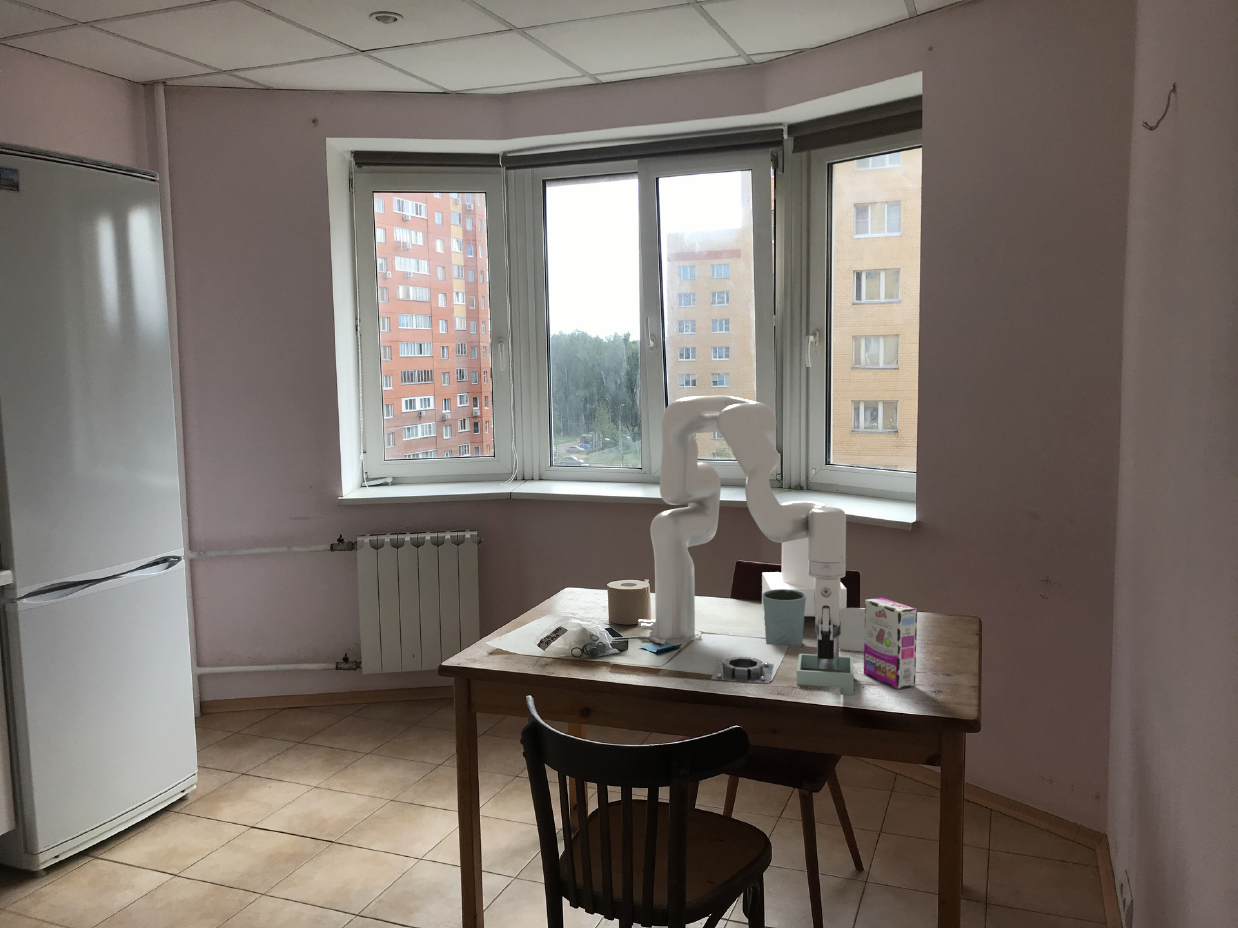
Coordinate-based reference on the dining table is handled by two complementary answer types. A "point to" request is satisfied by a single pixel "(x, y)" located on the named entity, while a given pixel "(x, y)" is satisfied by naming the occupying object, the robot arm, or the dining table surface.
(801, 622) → the teal cup
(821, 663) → the clear and grey cylinder
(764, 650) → the dining table surface
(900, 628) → the candy bar box
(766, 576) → the paper towel holder
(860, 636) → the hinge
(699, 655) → the dining table surface
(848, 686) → the parts bin
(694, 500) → the robot arm
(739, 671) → the stud mount
